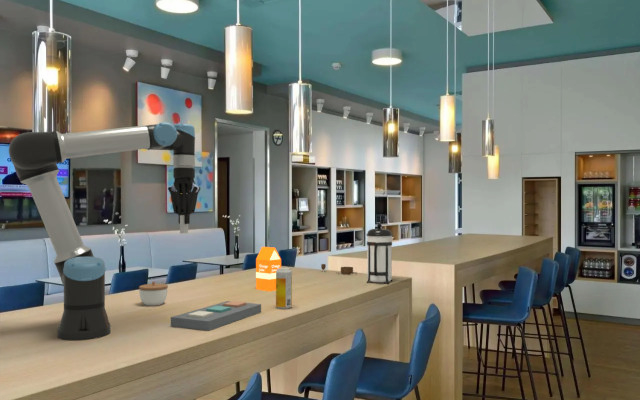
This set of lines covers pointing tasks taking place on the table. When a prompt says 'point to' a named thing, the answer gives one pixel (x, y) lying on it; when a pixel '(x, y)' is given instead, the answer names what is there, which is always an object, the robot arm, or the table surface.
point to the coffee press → (379, 255)
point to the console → (215, 317)
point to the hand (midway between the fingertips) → (184, 233)
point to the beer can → (283, 288)
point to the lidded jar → (153, 294)
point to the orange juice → (267, 268)
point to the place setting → (342, 269)
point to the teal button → (218, 309)
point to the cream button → (200, 314)
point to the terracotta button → (234, 304)
